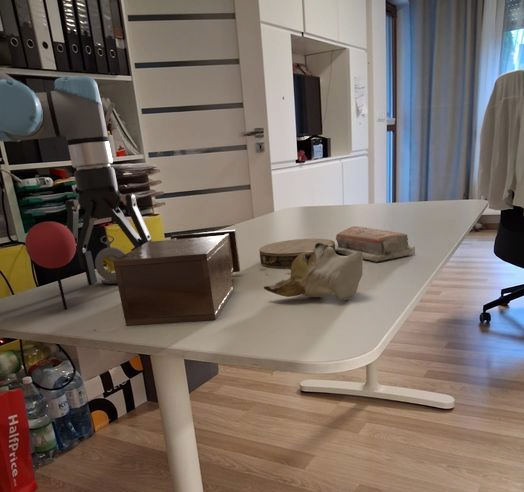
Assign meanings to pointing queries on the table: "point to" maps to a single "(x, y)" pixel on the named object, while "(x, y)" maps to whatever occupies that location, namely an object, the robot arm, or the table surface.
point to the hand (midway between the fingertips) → (116, 281)
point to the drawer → (230, 241)
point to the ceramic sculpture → (322, 274)
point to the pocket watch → (108, 255)
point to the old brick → (373, 243)
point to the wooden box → (175, 280)
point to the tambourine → (288, 251)
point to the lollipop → (51, 247)
